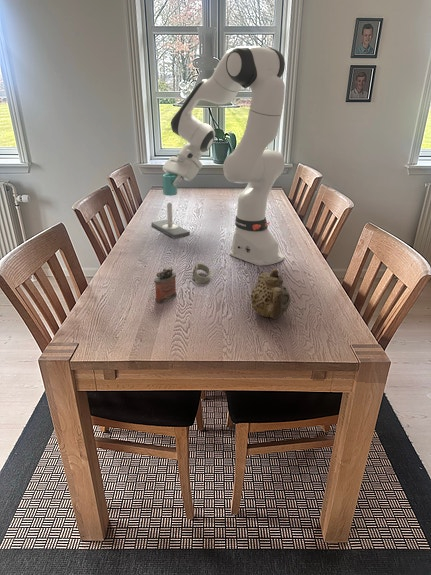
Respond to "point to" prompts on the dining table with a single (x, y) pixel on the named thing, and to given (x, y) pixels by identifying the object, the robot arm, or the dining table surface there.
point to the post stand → (170, 225)
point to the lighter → (165, 285)
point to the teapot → (270, 295)
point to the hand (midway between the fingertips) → (168, 183)
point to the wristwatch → (198, 277)
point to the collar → (169, 184)
